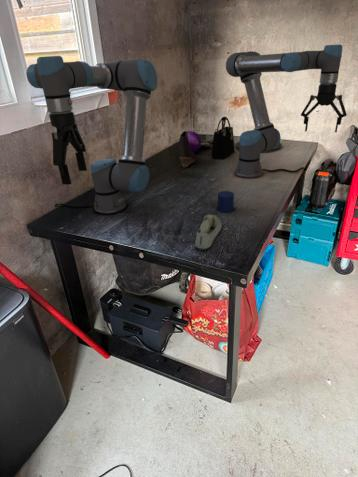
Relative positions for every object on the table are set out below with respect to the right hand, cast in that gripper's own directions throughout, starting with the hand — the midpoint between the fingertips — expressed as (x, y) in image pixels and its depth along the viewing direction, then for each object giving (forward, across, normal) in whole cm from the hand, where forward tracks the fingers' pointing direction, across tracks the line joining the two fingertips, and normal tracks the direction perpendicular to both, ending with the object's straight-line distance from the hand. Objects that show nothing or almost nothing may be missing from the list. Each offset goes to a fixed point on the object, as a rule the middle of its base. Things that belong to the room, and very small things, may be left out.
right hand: (320, 131), depth 161 cm
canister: (+26, -34, -45) cm, 63 cm away
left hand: (-2, -74, -94) cm, 120 cm away
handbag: (+26, -60, +37) cm, 75 cm away
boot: (+26, -77, +15) cm, 83 cm away
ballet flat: (+26, -33, -71) cm, 83 cm away
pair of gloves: (+26, -79, +62) cm, 104 cm away
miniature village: (+26, -43, +64) cm, 81 cm away
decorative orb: (+26, -84, +36) cm, 95 cm away
